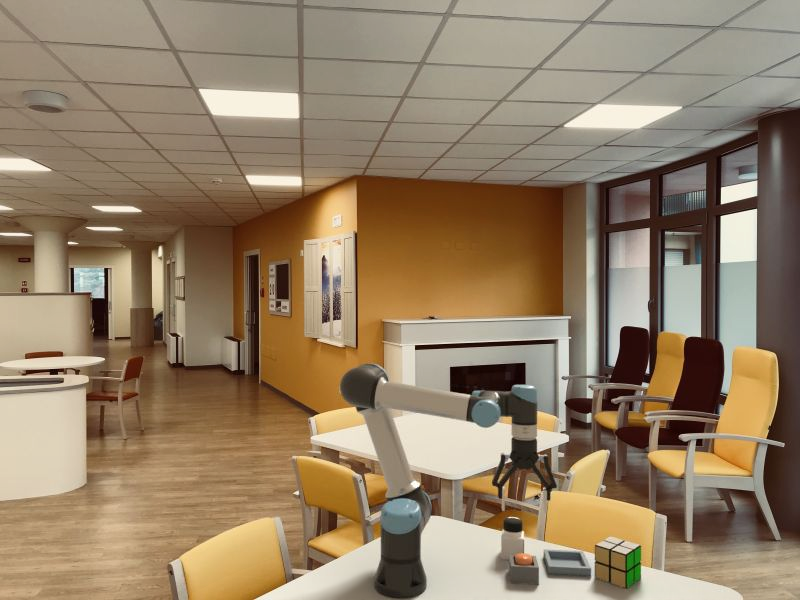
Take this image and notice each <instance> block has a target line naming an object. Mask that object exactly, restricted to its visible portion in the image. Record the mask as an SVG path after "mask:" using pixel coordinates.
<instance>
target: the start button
mask: <svg viewBox="0 0 800 600" xmlns="http://www.w3.org/2000/svg"><path fill="white" fill-rule="evenodd" d="M532 556H533V555H530V554H528V553H525V552H524V553H520V554H516V555H515V565H529V566H532Z"/></svg>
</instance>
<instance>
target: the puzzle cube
mask: <svg viewBox="0 0 800 600" xmlns="http://www.w3.org/2000/svg"><path fill="white" fill-rule="evenodd" d="M641 561H642V545H641V544H638V543H634V542H632V541H627V540H624V539H622V538H619V537H614V536H609V537H606V538H605V539H603V540H601V541H600V542H598V543H596V544H595V545H594V578H595V579H597V578H598V580H600V579H601V581H603V580H604V581H603V582H606V581H607V582H606V583H608V582H610V584H611V583H612V585H614V584H615V586H617V587H620V586H621V587H620V588H622V587H623V588H622V589H625V588H626V589H628V588H629V587H630V586H632V585H633V584H634V583H636V582H638V581H639V580H640V579H641V578H642V562H641Z"/></svg>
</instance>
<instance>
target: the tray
mask: <svg viewBox="0 0 800 600" xmlns="http://www.w3.org/2000/svg"><path fill="white" fill-rule="evenodd" d="M543 560H544V563H545V567H546V569H547V573H548V575H549V576H564V577H565V576H566V577H567V576H569V577H570V576H571V577H587V578H588V577H589V576H590V578H591V577H592V567H591V564H590V563H589V561H588V559H587V557H586V554H585V553H584V551H583V550H569V549H568V550H565V549H543Z"/></svg>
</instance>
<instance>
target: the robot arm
mask: <svg viewBox="0 0 800 600" xmlns="http://www.w3.org/2000/svg"><path fill="white" fill-rule="evenodd" d="M339 392H340V394H341V396H342V398H343V400H344V401H345V402H346V403H347V404H348V405H350V406H354V407H355V410H356V412H357V413H358V414H360V415H362V416H363V418H364V421H365V423H366V427H367V429H368V433H369V436H370V439H371V442H372V444H373V448H374V450H375V451H374V452H375V453H376V457H377V459H378V462H379V466H380V468H381V471H382V474H383V479H384V480H385V484H386V487H387V489H386V490H387V491H386V492H385V495H384V497H385V499H386V503H384V505H383V506H382V507H381V509H380V516H379V521H380V560H379V563H378V566H377V569H376V572H375V576H374V589H375V590H376V592H378V593H379V594H381V595H383V596H386V597H389V598H395V599H396V598H397V599H406V598H411V597H416V596H418V595H420V594H423V593H424V592H425V591H426V589H427V585H428V584H427V582H428V580H427V579H428V578H427V574H426V572H425V569H424V565H423V562H422V559H421V558H422V557H421V556H422V555H421V554H422V552H421V551H422V550H421V548H422V547H421V546H422V545H421V543H422V542H421V540H422V533H423V531H424V529H425V528H426V526H427V524H428V523H429V521H430V519H431V514H432V503H431V499H430V497H429V495H428V494H427V493H426V492H425V491H424V490H423V487H422V485H421V482H420V481H418V480H415V477H414V476H413V473H412V470H411V467H410V463H409V460H408V459H407V458H408V457H407V454H406V452H405V450H404V446H403V444H402V440H401V438H400V435H399V431H398V429H397V426H396V422H395V419H394V417H393V414H392V411H391V409H393V410H398V411H404V412H410V413H416V414H422V415H428V416H433V417H440V418H445V419H452V420H456V421H457V420H458V421H463V422H469V423H471V424H472V423H474V424H476V425H477V426H479V427H481V428H484V429H486V428H491V427H493V426H494V425H496V424H497V422H499V420H500V418H501V417H504V418H505V417H506V418H508V417H509V418H511V430H510V431H511V433H510V434H511V436H512V437H511V439H510V440H511V450H510V453H508V454H507V453H505V452H501V453H500V461H499V464H498V466H497V468H496V470H495V473H494V475H493V478H492V480H491V483H492V486H493V487H496V488H497V498H498V499H499V500H501V510H502V512H505V510H506V499H505V498H506V495H505V494H506V489H505V484H506V483H507V482H508V481H509V479H510V478H511V477H512V475H513V474H514V472H516V470H517V469H518V470H530V469H532V471H533V472H534V473H535V474H536V476H537V478H538V479H539V480H540V481H541V482H540V483H542V484H543V486H544V487H543V488H542V510H543V513H546V514H547V512H548V509H547V507H548V505H547V504H548V501H551V491H552V489H557V488H558V485H557V482H556V480H555V477H554V475H553V472H552V470H551V467H550V465H549V456H548V455H547V453H544V454H539V453H538V439H537V437H538V390H537V388H536V387H535V386H533V385H531V384H514V385H512V386H511V390H510V391H501V390H500V391H499V390H497V391H496V390H485V389H482V390H473V391H472V393H471V394H467V393H461V392H460V393H459V392H455V391H454V392H453V391H448V390H442V389H436V388H431V387H425V386H424V387H423V386H417V385H412V384H406V383H399V382H393V381H390V379H389V376H388V373H387V371H386V370H385V369H384V367H382V366H380V365H379V364H376V363H364V364H360V365H358V366H356V367H354V368H351V369H349V370H347V371H346V372H345V373H344V374H343V375H342V377H341V379H340V383H339ZM508 460H511V462H512V463H511V465H510V466H509V468H508V469H507V470H506V472H505V473H504V474H503V476H502V477H501V474H502V472H503V470H504V467H505V464H506V462H508ZM539 460H540V462H541V463H543V466H544V469H545V471H546V474H547V476H548V478H549V481H550V483H549V482H548V481H547V479H546V477H544V475H543V474H542V473H541V471H540V469H539V468H538V466H537V465H536V463H537V462H538V461H539ZM500 477H501V478H500ZM499 479H500V480H499Z"/></svg>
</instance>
